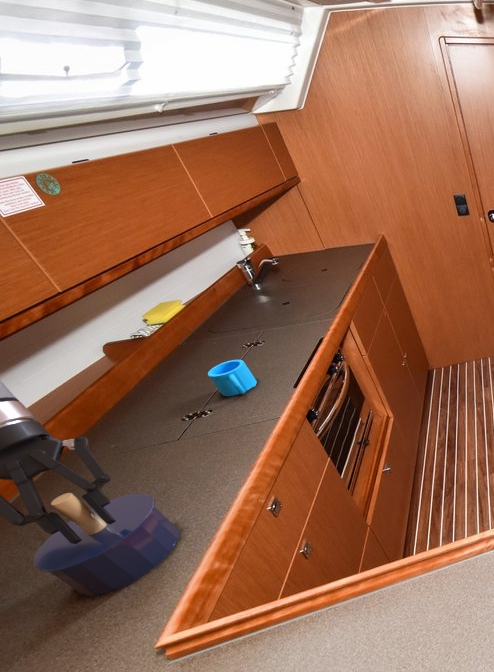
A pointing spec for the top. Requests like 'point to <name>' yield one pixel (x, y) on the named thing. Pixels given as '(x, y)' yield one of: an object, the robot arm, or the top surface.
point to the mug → (232, 377)
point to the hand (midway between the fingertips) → (94, 531)
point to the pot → (124, 559)
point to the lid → (92, 530)
